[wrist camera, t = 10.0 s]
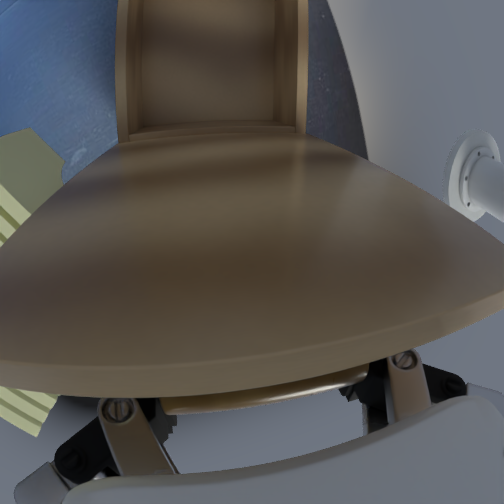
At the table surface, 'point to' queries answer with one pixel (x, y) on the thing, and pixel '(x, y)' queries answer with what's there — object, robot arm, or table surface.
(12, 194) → the slatted curved stool
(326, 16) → the table surface
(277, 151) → the lid
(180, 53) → the box
